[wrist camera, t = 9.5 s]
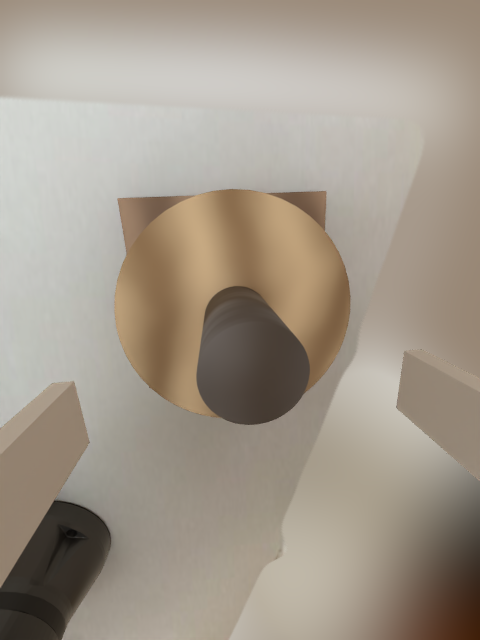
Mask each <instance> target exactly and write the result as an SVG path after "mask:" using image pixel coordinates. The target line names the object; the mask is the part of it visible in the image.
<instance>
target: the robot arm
mask: <svg viewBox="0 0 480 640" xmlns="http://www.w3.org/2000/svg"><path fill="white" fill-rule="evenodd" d="M396 407H397V409H398V410H399V411H401V412H402V413H403V414H404V415H405V416H406V417H408V418H409V419H410V420H411V421H412V422H413V423H414V424H415V425H416V426H417V427H419V428H420V429H421V430H422V431H423V432H424V433H425V434H427V435H428V436H429V437H430V438H431V439H432V440H433V441H435V442H436V443H437V444H438V445H439V446H440V447H441V448H443V449H444V450H445V451H446V452H447V453H448V454H449V455H451V456H452V457H453V458H454V459H455V460H456V461H457V462H458V463H460V464H461V465H462V466H463V467H464V468H465V469H467V470H468V471H469V472H470V473H471V474H472V475H473V476H474V477H476V478H477V479H478V480H479V481H480V378H478V377H476V376H474V375H472V374H470V373H468V372H466V371H464V370H462V369H460V368H458V367H456V366H454V365H452V364H450V363H448V362H446V361H444V360H442V359H440V358H438V357H436V356H434V355H432V354H430V353H428V352H426V351H424V350H422V349H420V350H409V351H405V352H404V357H403V364H402V371H401V378H400V385H399V392H398V399H397V406H396ZM89 443H90V442H89V438H88V434H87V430H86V426H85V423H84V419H83V415H82V411H81V407H80V403H79V399H78V395H77V391H76V387H75V383H74V381H72V382H61V383H52V384H51V385H50V386H49V387H47V388H46V389H45V390H44V391H43V392H42V393H41V394H39V395H38V396H37V397H36V398H35V399H34V400H32V401H31V402H30V403H29V404H28V405H27V406H26V407H24V408H23V409H22V410H21V411H20V412H19V413H18V414H16V415H15V416H14V417H13V418H12V419H11V420H10V421H8V422H7V423H6V424H5V425H4V426H3V427H2V428H0V640H61V639H62V637H63V634H64V632H65V629H66V627H67V624H68V622H69V621H70V619H71V617H72V616H73V614H74V613H75V611H76V610H77V608H78V606H79V605H80V603H81V602H82V600H83V599H84V597H85V596H86V594H87V592H88V591H89V589H90V588H91V586H92V585H93V583H94V581H95V580H96V578H97V577H98V575H99V574H100V572H101V570H102V568H103V566H104V563H105V560H106V557H107V554H108V551H109V548H110V536H109V532H108V530H107V528H106V526H105V525H104V524H103V522H102V521H101V520H100V519H99V518H98V517H96V516H95V515H94V514H92V513H91V512H89V511H87V510H85V509H83V508H81V507H78V506H75V505H72V504H67V503H61V502H53V501H54V500H55V498H56V496H57V495H58V493H59V492H60V490H61V488H62V487H63V485H64V483H65V482H66V480H67V479H68V477H69V475H70V474H71V472H72V470H73V469H74V467H75V466H76V464H77V462H78V461H79V459H80V457H81V456H82V454H83V452H84V451H85V449H86V448H87V446H88V444H89Z"/></svg>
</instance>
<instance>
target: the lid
mask: <svg viewBox="0 0 480 640" xmlns="http://www.w3.org/2000/svg"><path fill="white" fill-rule="evenodd" d="M349 314H350V289H349V281H348V277H347V273H346V269H345V266H344V264H343V261H342V259H341V256H340V254H339V252H338V250H337V248H336V247H335V245H334V243H333V241H332V240H331V238H330V237H329V236H328V235H327V233H326V232H325V231H324V230H323V228H322V227H321V226H320V225H319V224H318V223H317V222H316V221H315V220H314V219H313V218H312V217H310V216H309V215H308V214H306V213H305V212H304V211H302V210H301V209H299V208H298V207H297V206H295V205H293V204H291V203H289V202H287V201H285V200H283V199H281V198H278V197H275V196H272V195H269V194H266V193H262V192H256V191H251V190H237V189H229V190H219V191H212V192H208V193H204V194H200V195H196V196H194V197H191V198H189V199H186V200H184V201H181V202H179V203H178V204H176V205H174V206H173V207H171V208H169V209H167V210H166V211H164V212H163V213H162V214H161V215H159V216H158V217H157V218H156V219H154V220H153V221H152V222H151V223H150V224H149V225H148V226H147V227H146V228H145V229H144V230H143V232H142V233H141V234H140V235H139V236H138V238H137V239H136V241H135V242H134V244H133V245H132V246H131V248H130V250H129V252H128V254H127V256H126V258H125V260H124V262H123V264H122V267H121V270H120V273H119V276H118V280H117V286H116V292H115V320H116V327H117V331H118V335H119V339H120V342H121V344H122V347H123V349H124V352H125V354H126V356H127V358H128V359H129V361H130V363H131V365H132V366H133V368H134V369H135V371H136V372H137V373H138V374H139V376H140V377H141V378H142V379H143V380H144V381H145V382H146V383H147V384H148V385H149V386H150V387H151V388H152V389H153V390H154V391H155V392H157V393H158V394H159V395H160V396H162V397H163V398H165V399H166V400H168V401H170V402H171V403H173V404H175V405H177V406H179V407H181V408H183V409H186V410H188V411H191V412H194V413H197V414H201V415H206V416H211V417H219V418H223V419H225V420H227V421H230V422H233V423H238V424H245V425H254V424H261V423H266V422H269V421H272V420H274V419H277V418H279V417H281V416H282V415H284V414H285V413H287V412H288V411H289V410H291V409H292V408H293V407H294V406H295V405H296V404H297V403H298V401H299V400H300V399H301V397H302V396H303V394H304V393H305V392H306V391H307V390H309V389H310V388H311V387H312V386H313V385H314V384H315V383H316V382H317V381H318V380H319V379H320V378H321V377H322V376H323V375H324V373H325V372H326V371H327V369H328V368H329V367H330V365H331V364H332V362H333V361H334V359H335V357H336V355H337V354H338V352H339V350H340V347H341V345H342V342H343V340H344V337H345V334H346V330H347V326H348V321H349Z"/></svg>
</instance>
